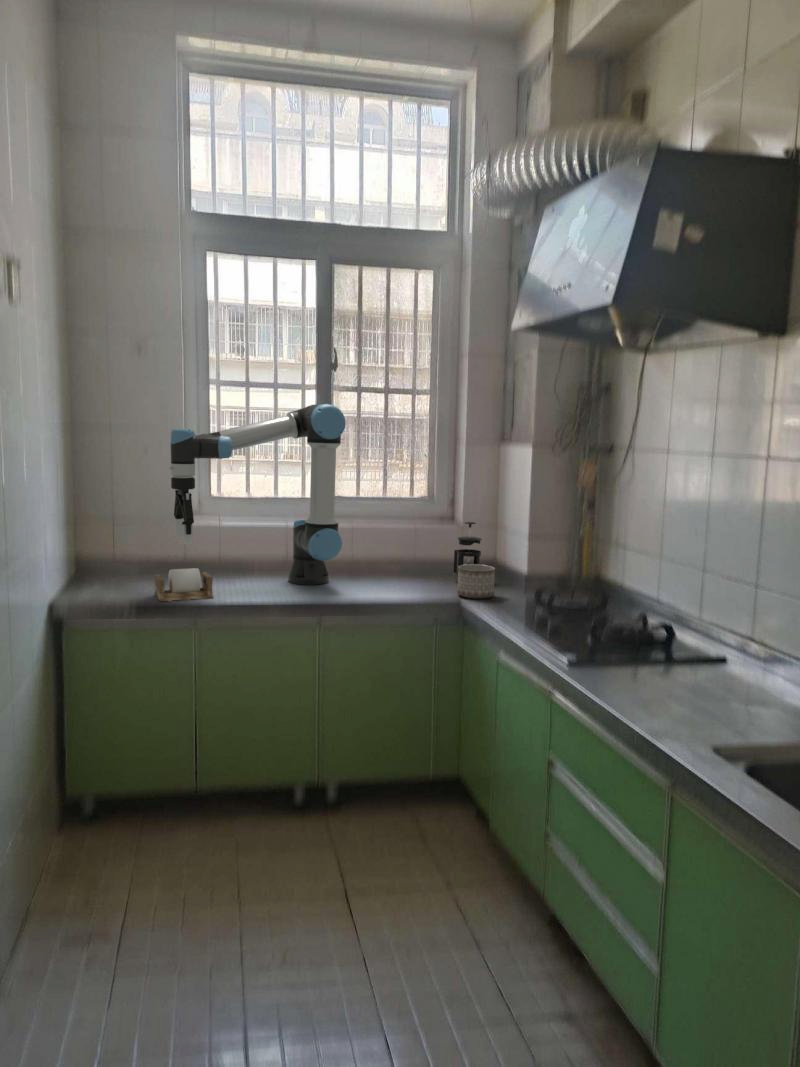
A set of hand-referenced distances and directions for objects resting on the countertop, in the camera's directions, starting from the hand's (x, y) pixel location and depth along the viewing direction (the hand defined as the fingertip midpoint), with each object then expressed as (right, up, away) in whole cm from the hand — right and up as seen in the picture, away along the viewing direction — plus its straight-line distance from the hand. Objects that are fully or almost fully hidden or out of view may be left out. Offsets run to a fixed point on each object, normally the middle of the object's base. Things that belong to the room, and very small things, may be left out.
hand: (183, 541), depth 271 cm
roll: (0, -17, +2) cm, 17 cm away
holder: (-1, -18, +3) cm, 19 cm away
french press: (+96, -16, +41) cm, 106 cm away
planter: (+97, -20, +16) cm, 101 cm away
